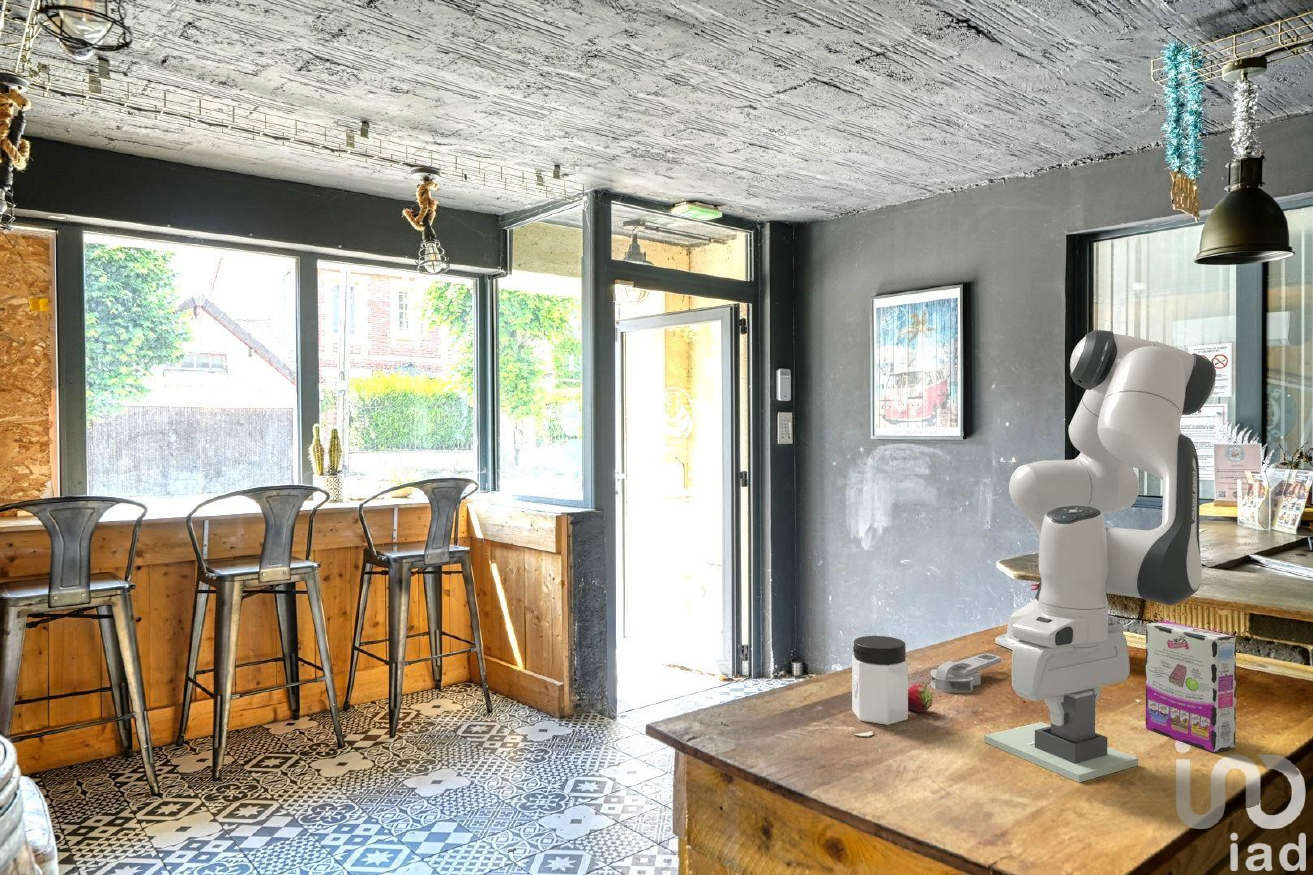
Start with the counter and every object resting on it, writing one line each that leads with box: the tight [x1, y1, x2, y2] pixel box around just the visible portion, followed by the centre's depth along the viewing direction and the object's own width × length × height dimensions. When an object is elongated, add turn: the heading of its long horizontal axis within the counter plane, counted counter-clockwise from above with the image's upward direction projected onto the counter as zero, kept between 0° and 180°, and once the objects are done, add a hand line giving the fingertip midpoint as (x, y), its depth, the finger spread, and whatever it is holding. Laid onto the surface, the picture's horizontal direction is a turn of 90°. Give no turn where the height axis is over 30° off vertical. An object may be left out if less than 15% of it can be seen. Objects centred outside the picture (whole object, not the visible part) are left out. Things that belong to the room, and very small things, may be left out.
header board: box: [983, 721, 1139, 783], centre depth 125 cm, size 16×12×4 cm
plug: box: [1050, 690, 1096, 742], centre depth 123 cm, size 4×4×6 cm
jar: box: [851, 635, 909, 726], centre depth 141 cm, size 9×8×12 cm
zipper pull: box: [929, 653, 1002, 694], centre depth 159 cm, size 8×18×4 cm, turn 129°
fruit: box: [908, 683, 934, 713], centre depth 143 cm, size 4×6×5 cm
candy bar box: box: [1145, 620, 1237, 753], centre depth 130 cm, size 11×5×16 cm, turn 23°
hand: (1072, 720), depth 123 cm, fingers closed on plug, 4 cm apart
